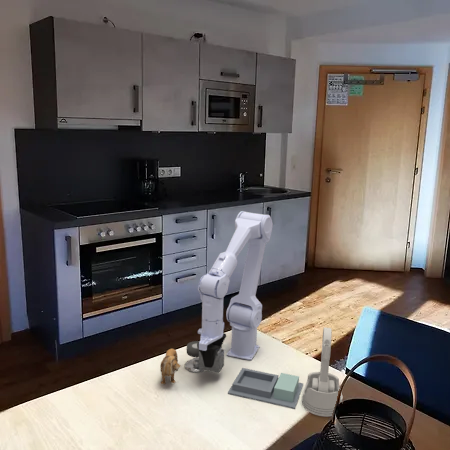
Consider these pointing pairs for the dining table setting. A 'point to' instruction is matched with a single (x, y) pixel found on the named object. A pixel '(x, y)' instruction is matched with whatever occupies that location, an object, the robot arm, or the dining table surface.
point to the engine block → (217, 363)
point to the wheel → (193, 349)
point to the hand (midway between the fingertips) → (211, 362)
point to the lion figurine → (169, 365)
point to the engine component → (322, 384)
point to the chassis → (267, 387)
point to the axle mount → (193, 365)
